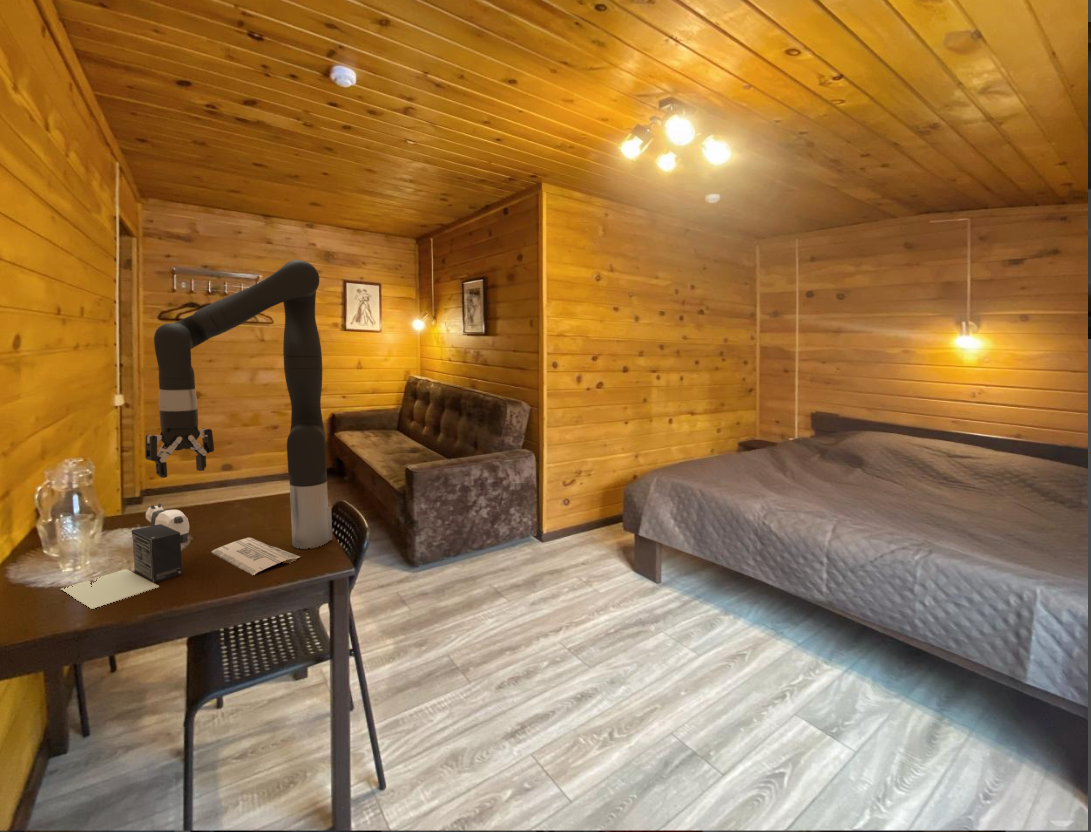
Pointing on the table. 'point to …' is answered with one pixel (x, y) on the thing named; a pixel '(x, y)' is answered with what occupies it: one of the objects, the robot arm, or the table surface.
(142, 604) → the table surface
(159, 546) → the small box
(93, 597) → the blank cream paper sheet
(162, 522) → the giant panda
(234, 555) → the newspaper
